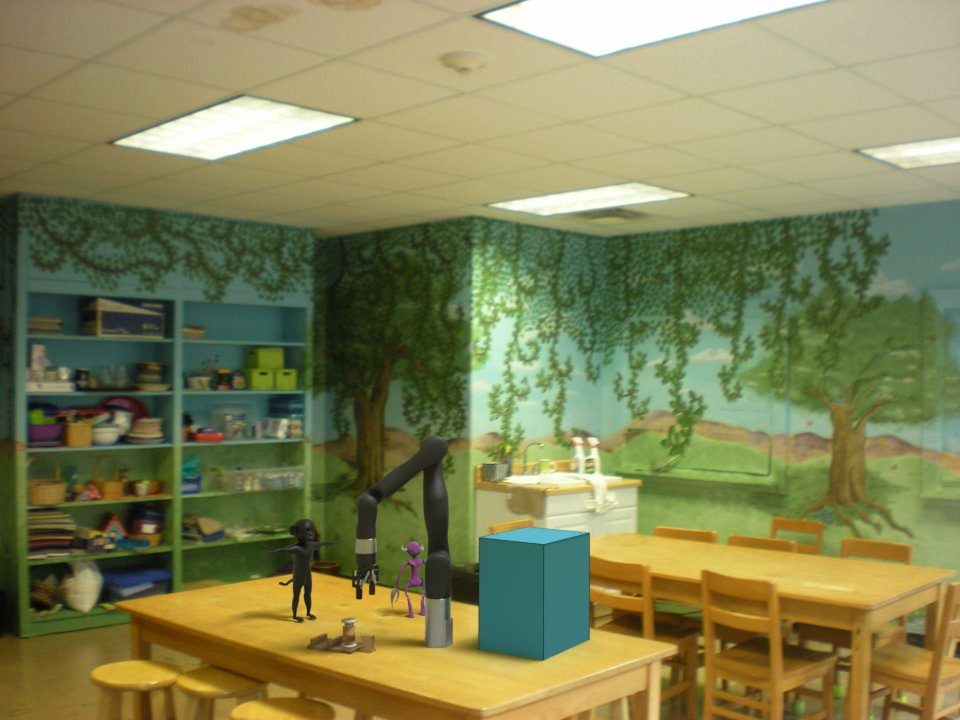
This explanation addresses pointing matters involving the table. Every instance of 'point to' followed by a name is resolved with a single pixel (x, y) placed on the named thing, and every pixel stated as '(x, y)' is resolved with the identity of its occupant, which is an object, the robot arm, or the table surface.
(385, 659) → the table surface
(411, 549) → the toy
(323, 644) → the board
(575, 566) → the box
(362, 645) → the tan wooden block
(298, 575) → the monkey
